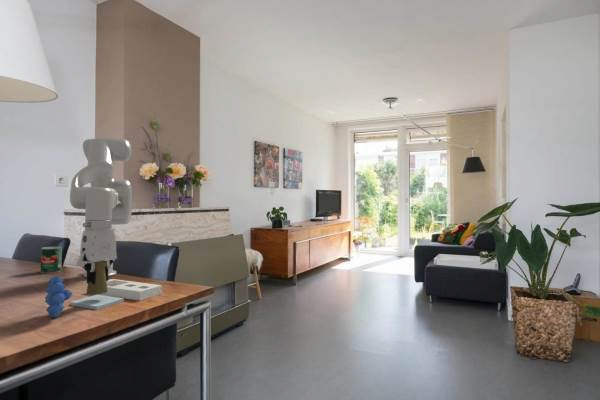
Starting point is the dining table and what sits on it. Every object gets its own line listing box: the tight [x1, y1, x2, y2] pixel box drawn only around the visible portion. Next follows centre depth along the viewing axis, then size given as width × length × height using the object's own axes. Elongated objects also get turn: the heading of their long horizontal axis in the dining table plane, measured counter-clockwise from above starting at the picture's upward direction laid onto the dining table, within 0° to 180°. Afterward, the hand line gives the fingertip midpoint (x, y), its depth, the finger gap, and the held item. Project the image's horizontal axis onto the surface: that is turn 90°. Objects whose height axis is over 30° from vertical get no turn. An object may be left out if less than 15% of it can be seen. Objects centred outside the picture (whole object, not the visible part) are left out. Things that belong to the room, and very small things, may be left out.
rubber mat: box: [69, 294, 125, 311], centre depth 118 cm, size 12×10×1 cm
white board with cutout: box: [99, 278, 163, 301], centre depth 130 cm, size 24×10×3 cm, turn 68°
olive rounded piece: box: [86, 261, 108, 295], centre depth 117 cm, size 6×6×11 cm
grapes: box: [44, 275, 73, 319], centre depth 104 cm, size 12×7×12 cm, turn 45°
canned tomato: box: [40, 245, 63, 274], centre depth 166 cm, size 8×8×11 cm
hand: (97, 281), depth 118 cm, fingers closed on olive rounded piece, 3 cm apart
